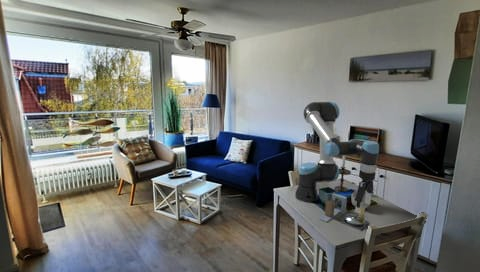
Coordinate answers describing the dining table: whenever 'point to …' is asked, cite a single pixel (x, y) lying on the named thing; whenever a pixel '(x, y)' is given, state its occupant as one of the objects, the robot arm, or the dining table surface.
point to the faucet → (356, 217)
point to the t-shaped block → (336, 209)
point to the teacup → (355, 201)
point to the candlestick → (342, 172)
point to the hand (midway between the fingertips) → (362, 208)
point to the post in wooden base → (331, 206)
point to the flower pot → (326, 193)
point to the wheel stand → (354, 225)
